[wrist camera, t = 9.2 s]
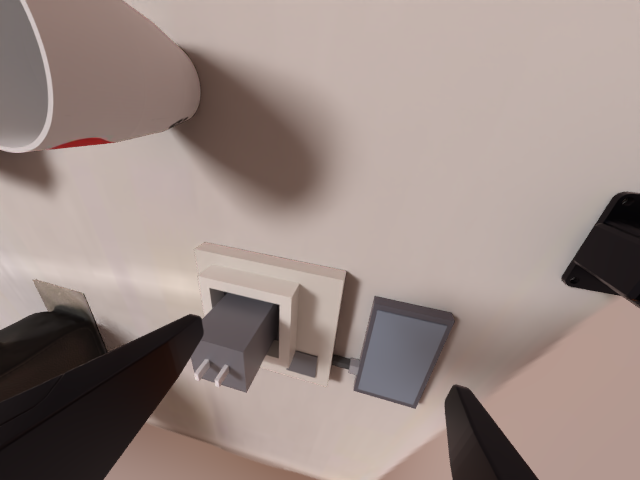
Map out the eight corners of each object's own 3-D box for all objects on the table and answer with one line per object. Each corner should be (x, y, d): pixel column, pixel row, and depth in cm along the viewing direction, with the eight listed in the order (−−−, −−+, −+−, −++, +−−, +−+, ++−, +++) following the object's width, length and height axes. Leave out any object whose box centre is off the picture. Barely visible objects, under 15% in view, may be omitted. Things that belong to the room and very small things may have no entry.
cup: (121, 112, 19) (-96, 97, 11) (126, -13, 16) (-205, -197, 7) (206, 161, 19) (60, 186, 11) (232, 48, 16) (38, -59, 7)
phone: (451, 313, 20) (455, 322, 19) (414, 398, 25) (415, 409, 24) (374, 296, 21) (374, 304, 20) (354, 381, 26) (353, 391, 25)
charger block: (277, 297, 21) (233, 367, 15) (277, 333, 23) (238, 408, 17) (232, 287, 22) (172, 349, 16) (236, 322, 24) (184, 391, 18)
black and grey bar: (360, 360, 25) (359, 367, 24) (358, 367, 25) (358, 375, 24) (334, 353, 25) (332, 360, 24) (333, 360, 26) (331, 368, 25)
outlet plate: (346, 270, 21) (340, 295, 18) (329, 374, 27) (323, 406, 24) (204, 242, 23) (177, 259, 20) (219, 343, 29) (199, 368, 26)
